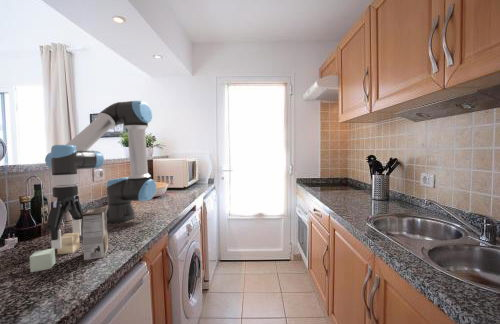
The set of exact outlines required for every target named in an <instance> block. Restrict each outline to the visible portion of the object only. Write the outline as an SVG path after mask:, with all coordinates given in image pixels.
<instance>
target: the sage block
mask: <svg viewBox="0 0 500 324" xmlns="http://www.w3.org/2000/svg"><path fill="white" fill-rule="evenodd" d="M55 264H56V251H55V248H52V247H51V248H47V249H46V248H45V249H41V250H35V251H34V252H33V253H32V254H31V255H30V256H29V268H30V269H29V271H30V273H35V272H40V271H45V270H50V269H52V267H53V266H54V265H55Z"/></svg>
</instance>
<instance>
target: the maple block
mask: <svg viewBox="0 0 500 324" xmlns="http://www.w3.org/2000/svg"><path fill="white" fill-rule="evenodd" d="M80 241H81V240H80V236H79V233H73V232H72V233H71V232H70V233H64V234H61V244H62V248H59V249H57V255H64V254H65V255H66V254H73V253H75V252H76V251H78V250H79V249H80V248H81V244H80Z"/></svg>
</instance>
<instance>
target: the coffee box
mask: <svg viewBox="0 0 500 324" xmlns="http://www.w3.org/2000/svg"><path fill="white" fill-rule="evenodd" d="M106 211H107V207H94V208H93V207H92V208H87V209H86V210H84V211H83V214H82V219H81V230H82V243H83V244H82V245H83V261H87V260H88V261H89V260H94V259H100V258H105V256H106V254H107V252H108V250H109V238H108V237H109V235H108V222H107V216H106Z"/></svg>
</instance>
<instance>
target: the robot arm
mask: <svg viewBox="0 0 500 324" xmlns="http://www.w3.org/2000/svg"><path fill="white" fill-rule="evenodd" d="M152 119H153V113H152V109H151V107H150V106H149V104H148V103H146V102H145V101H143V100H130V101H118V102H117V101H116V102H114V103H111V104H110V105H109V106H107V107H106V108H104V109H103V110H101V111H100V112H99V113H98V114H97V115H96V119H94V120H93V121H92V122H91V123H90V124H88V125H87V126H86V127H85V128H84V129H82V130H81V131H80V132H79V133H78V134H77V135H75V136H74V137H73V138H72V139H70V140H69V141H68V142H67V143H66V144H54V145H52V146H51V149H50V152H49V153H47V154H46V155H45V158H44V162H45V164H46V166H47V167H48V168H50V169H51V180H52V181H51V182H52V186H53V187H52V197H53V198H56V201H51V203H50V210H49V213H48V219H47V223H46V226H45V231H46V232H50V243H51V244H50V245H51V249H52V248H55V249H57V250H58V249H59V248H62V244H61V236H62V229H60V228H61V225H62V222H63V220H64V217H65V214H66V213H67V212H68V213H69V214H70V216H71V217H72V218H73V219H72V221H71V222H72V224H71V225H72V227H71V228H72V233H79V237H81V236H82V214H83V213H84V211H83V208H82V205H81V203H80V196H79V195H78V194H79V190H78V189H79V188H78V185H77V184H78V170H87V169H92V170H93V169H98V168H100V167H102V166H103V165H104V162H105V157H104V155H103V154H102V152H101V151H98V150H89V149H90V148H92V146H94V144H95V143H96V142H98V141H99V139H101V138H102V137H103V136H104V135H105V134H106V133H107V132H108V131H109V130H112V129H114V128H115V127H117V126H118V125H119V126H120V125H123V127H124V128H125V129H127V138H128V139H127V140H128V152H129V153H128V154H129V167H130V169H129V170H130V175H128V176H126V177H121V178H120V177H119V178H113V179H109V180H107V182H106V196H107V207H106V216H107V223H120V222H121V223H122V222H126V221H130V220H133V219H135V218H136V212H135V210H134V208H133V205H132V202H134V201H135V202H146V201H147V202H148V201H150V200H152V199H153V198H154V197H155V195H156V192H157V188H158V186H157V182H156V181H155V179H152V175H151V174H150V173H149V168H148V153H147V136H146V129H147V128H149V123H150V122H152Z"/></svg>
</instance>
